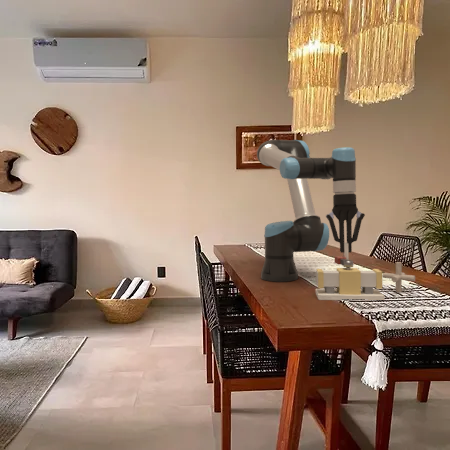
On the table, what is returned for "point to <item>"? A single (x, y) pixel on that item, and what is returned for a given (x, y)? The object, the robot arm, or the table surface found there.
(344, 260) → the valve lever
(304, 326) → the table surface
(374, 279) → the valve base
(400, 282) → the pipe connector
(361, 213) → the robot arm
